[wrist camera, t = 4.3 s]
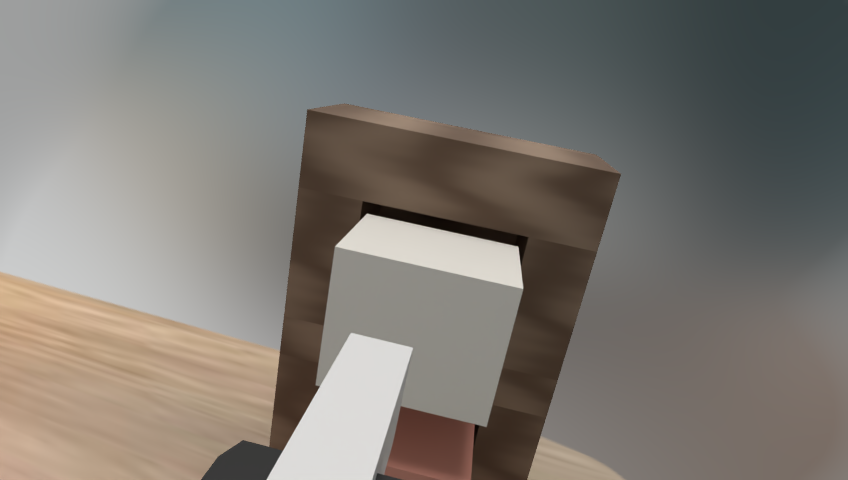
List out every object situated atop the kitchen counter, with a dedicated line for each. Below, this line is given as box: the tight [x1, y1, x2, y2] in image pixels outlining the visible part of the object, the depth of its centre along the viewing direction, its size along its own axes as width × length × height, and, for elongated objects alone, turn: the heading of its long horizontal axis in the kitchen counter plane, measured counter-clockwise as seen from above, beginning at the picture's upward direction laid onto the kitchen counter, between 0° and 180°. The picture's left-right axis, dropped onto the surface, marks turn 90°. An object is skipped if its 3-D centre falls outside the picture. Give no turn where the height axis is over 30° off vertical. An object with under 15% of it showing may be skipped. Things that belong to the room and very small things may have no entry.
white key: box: [316, 214, 523, 427], centre depth 22 cm, size 7×5×6 cm
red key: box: [384, 406, 475, 480], centre depth 25 cm, size 7×5×6 cm
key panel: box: [269, 104, 621, 480], centre depth 30 cm, size 14×6×24 cm, turn 82°
